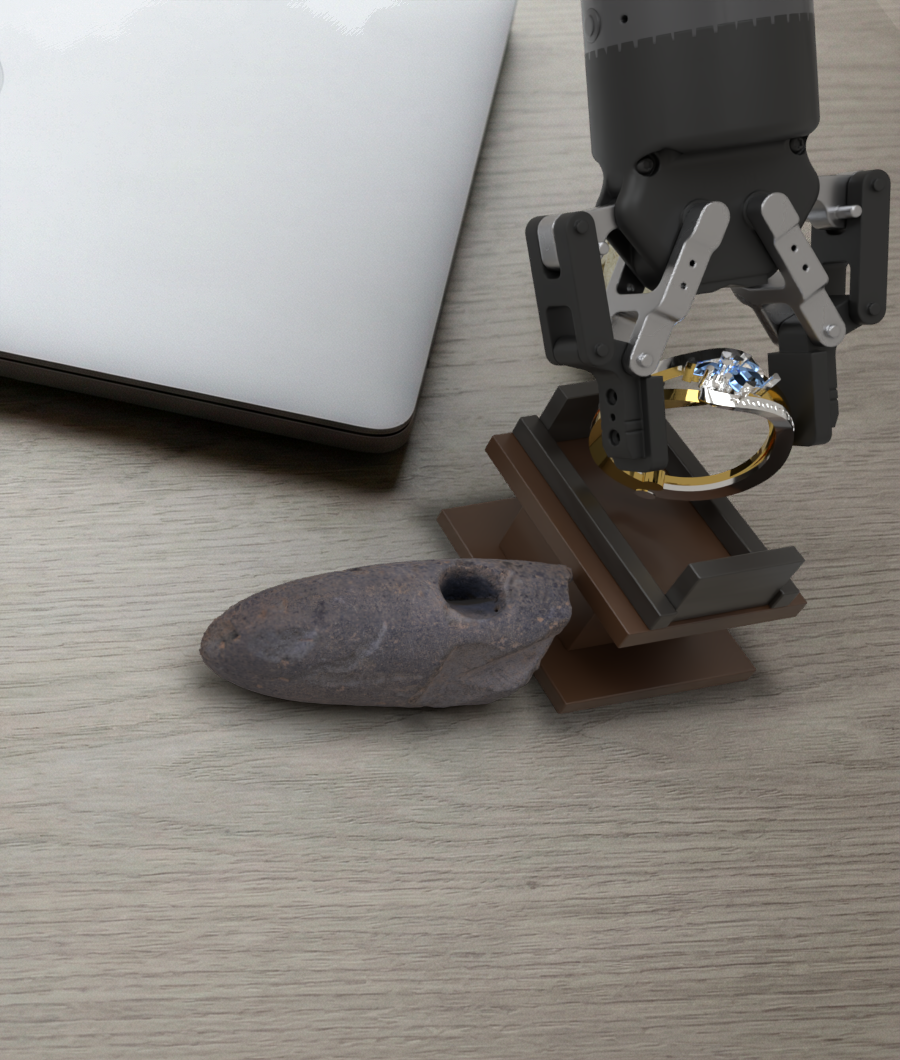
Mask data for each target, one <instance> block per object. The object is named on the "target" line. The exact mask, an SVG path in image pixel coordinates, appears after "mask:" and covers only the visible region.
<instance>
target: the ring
mask: <svg viewBox="0 0 900 1060" xmlns="http://www.w3.org/2000/svg"><path fill="white" fill-rule="evenodd" d="M651 376H663V382H666V381H669V380H672V379H675V378H678V377H680V376H682V378H681V381H683V382H686V383H698V385H697V387H698V389H688V388H664V401H665V410H667V409H677V408H689V407H690V408H692V407H702V406H707V405H709V406H711V407H713V408H716V409H720V410H725V411H733V412H740V413H747V414H752V415H755V416H759V417H760V418H765V420H767V423H768V434H767V436H766V439H765V440H764V442H763V443H762V445H761V447H760V448H759V449H758V450H757V451H756V452H755V453H754V454H753V455H752V456H751V457H750V458H748V459H747V460H745V461H743V462H742V463H741V464H739V465H737V466H735V467H733V468H731V469H728V470H725V471H723V472H720V473H716V474H712V475H711V474H710V476H705V477H691V478H688V477H674V476H668V475H665V472H664V471H663V470H659V471H653V472H647V473H642V472H632V471H622V470H619V469H618V468H617V467H616V466H615V464H614V461H613V458H610V457H608V456H607V454H606V452H605V450H604V448H603V445H602V430H601V422H602V420H601V417H600V403H599V404H598V406H597V408H596V410H595V412H594V416H593V420H592V424H591V429H590V436H589V449H590V453H591V455H592V457H593V459H594V461H595V462H596V464H597V465H598V466H599V468H600V469H601V470H602V471H603V472H605V473H606V474H607V475H608V476H610V477H611V478H612V479H614V480H615V481H617V482H619V483H621V484H622V485H624V486H626V487H629V488H631V489H633V490H635V494H636V495H638V496H639V497H642V498H645V499H655V498H656V497H659V498H665V499H671V500H683V501H699V500H710V499H717V498H722V497H727V498H728V497H730V496H734V495H737V494H741V493H744V492H746V491H748V490H751V489H753V488H755V487H757V486H760V485H761V484H763V483H764V482H766V481H768V480H769V479H770V478H772V477H773V476H774V475H775V474H777V473H778V472H779V470H780V469H781V468H782V467H783V466H784V465H785V464H786V462H787V460H788V459H789V457H790V454H791V452H792V449H793V447H794V446H793V441H794V421H793V418H792V413H791V408H790V405H789V403H788V401H787V399H786V397H785V395H784V394H783V392H782V391H781V390H780V389H779V388H778V386H777V385H776V384H777V383H778V382H779V381H780V380H781V379H780V377H779V375H778V374H777V373H775V374H774V375H772V376H771V377H770V378H769V376H766V375H765V373H764V371H763V369H762V368H761V366H760V365H759V364H758V363H757V361H756V360H755V359H754V357H753V355H752V354H751V353H748V352H745V351H743V350H740V349H737V348H732V347H715V348H707V349H701V350H697V351H692V352H691V351H690V352H687V353H683V354H679V355H678V354H677V355H675V356H671V357H667V358H663V359H661V361H660V362H659V365H658V367H657V369H656V370H655V371H654V373H652V374H651Z"/></svg>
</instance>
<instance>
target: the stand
mask: <svg viewBox="0 0 900 1060" xmlns="http://www.w3.org/2000/svg"><path fill="white" fill-rule="evenodd" d="M665 385H666V381H664V382H663V386H664V387H665ZM598 404H599V389H598V383H597V380H596V379H593V380H586V381H580V382H575V383H568V384H567V383H566V384H561V385H558V386H557V387H556V389H555V391H554V392H553V394H552V395H551V398H550V399H549V401H548V403H547V404H546V405H545V407H544V410H542V412H541V414H540V416H538V415H537V414H530V415H525V416H521V417H519V418H518V420H517V422H516V424H515V425H514V427H513V429H512V431H510V432H504V433H497V434H493V435H491V437H490V439H489V441H488V442H487V444H486V446H485V447H484V452H485V453H486V455H487V456H488V457H489V460H490V461H491V462H492V464H493V465H494V466H495V468H496V469H497V471H498V472H499V474H500V476H501V477H502V478H503V480H504V481H505V483H506V484H507V486H508V487H509V488H510V490H511V492H512V493H513V494H514V497H509V498H501V499H496V500H490V501H485V502H484V501H483V502H477V503H472V504H465V505H460V506H453V507H447V508H442V509H441V510H440V512H439V514H438V515H437V517H436V518H435V519H436V522H437V524H438V525H439V527H440V528H441V530H442V532H443V533H444V535H445V536H446V538H447V539H448V541H449V543H450V544H451V546H452V547H453V549H454V550H455V553H457V555H458V557H459V559H460V558H464V559H471V558H478V559H479V558H481V559H502V560H523V561H532V562H542V563H547V564H555V565H558V564H560V565H566V566H567V567H569V568H571V569H572V573H573V579H572V581H571V582H570V583H569V584H568V588H569V591H568V593H569V601H570V604H571V607H572V614H571V618H570V620H569V622H568V623H567V626H565V627H564V629H563V630H562V631H561V632H560V633H559V634H557V635H556V636H555V637H554V638H553V641H552V643H551V645H550V646H549V648H548V650H547V652H546V653H545V655H544V657H543V658H542V659H541V662H540V666H539V669H538V670H535V671H534V673H533V676H534V677H535V679H536V681H537V682H538V684H539V685H540V687H541V689H542V690H543V692H544V694H545V695H546V697H547V698H548V700H549V702H550V703H551V705H552V706H553V708H554V709H555V711H556V713H557V714H559V715H562V714H569V713H574V712H579V711H585V710H590V709H596V708H600V707H607V706H612V705H617V704H622V703H628V702H634V701H640V700H644V699H645V700H646V699H651V698H655V697H656V698H657V697H660V696H667V695H672V694H677V693H683V692H688V691H695V690H700V689H705V688H711V687H717V686H722V685H726V684H733V683H739V682H743V681H748V680H749V679H750V678H751V677H752V676H754V674H755V673H756V671H757V668H756V666H755V665H754V663H752V661H751V660H750V658H749V657H748V656H747V654H746V653H745V652H744V650H743V649H742V648H741V646H740V645H739V643H738V642H737V640H736V639H735V638H734V637H733V635H732V634H731V632H730V631H729V629H735V628H741V627H745V626H752V625H757V624H762V623H768V622H773V621H779V620H785V619H792V618H796V617H797V616H798V615H799V614H800V613H801V611H802V610H803V609H804V608H805V607H806V606H807V604H808V601H807V600H806V598H805V597H804V596H803V594H802V593H801V591H800V589H799V588H798V586H797V585H796V584H795V583H794V582H793V580H792V579H791V578H792V577H793V576H794V575H795V573H797V571H798V570H799V569H800V568H801V566H802V565H804V563H805V562H806V560H805V558H804V556H803V555H802V554H801V552H800V551H799V550H798V549H797V548H796V546H795V545H789V546H784V547H778V548H777V547H776V548H772V549H768V548H767V547H766V545H765V544H764V543H763V541H762V540H761V539H760V538H759V536H758V535H757V534H756V533H755V531H754V530H753V528H752V527H751V526H750V525H749V524H748V522H747V520H745V518H744V517H743V516H742V515H741V513H740V511H738V509H737V508H736V507H735V505H734V504H733V503H732V502H731V500H730V499H729V498H728V496H727V497H722V498H717V499H710V500H699V501H683V500H671V499H665V498H659V497H656V498H655V499H645V498H642V497H639V496H638V495H636V494H635V490H633V489H631V488H629V487H626V486H624V485H622V484H621V483H619V482H617V481H615V480H614V479H612V478H611V477H610V476H608V475H607V474H606V473H605V472H603V471H602V470H601V469H600V468H599V466H598V465H597V464H596V462H595V461H594V459H593V457H592V455H591V453H590V449H589V436H590V429H591V424H592V420H593V416H594V412H595V410H596V408H597V406H598ZM666 431H667V446H668V464H667V466H666V468H665V469H663V471H664V472H665V475H668V476H674V477H688V478H691V477H705V476H711V474H710V473H709V472H708V471H707V470H706V468H705V467H704V466H703V464H702V463H701V462H700V461H699V459H698V458H697V456H696V455H695V454H694V453H693V451H692V450H691V449H690V447H689V446H688V445H687V444H686V442H685V441H684V439H682V437H681V436H680V435H679V433H678V432H677V431H676V430H675V428H674V427H673V425H672V424H671V423H670V422H669V421H668V419H667V418H666Z"/></svg>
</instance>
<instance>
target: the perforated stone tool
mask: <svg viewBox="0 0 900 1060" xmlns="http://www.w3.org/2000/svg"><path fill="white" fill-rule="evenodd" d="M572 579H573V573H572V569H571V568H569V567H567V566H566V565H560V564H558V565H555V564H547V563H542V562H532V561H523V560H502V559H481V558H479V559H478V558H471V559H464V558H460V557H459V558H457V557H456V558H432V559H431V558H430V559H421V560H420V559H419V560H405V561H394V562H385V563H375V564H369V565H362V566H357V567H350V568H346V569H343V570H334V571H328V572H324V573H320V574H319V573H318V574H315V575H310V576H305V577H301V578H297V579H294V580H289V581H286V582H283V583H280V584H277V585H273V586H272V587H268V588H265V589H263V590H260V591H258V592H254V594H253V593H252V594H251V595H249V596H247V597H246V598H244V599H241V600H239V601H237V602H236V603H235V604H233V605H231V606H229V608H228V609H226V610H224V611H223V613H221V615H218V616H217V617H215V618H213V621H212V622H211V623H209V625H208V626H207V628H206V630H205V631H204V632H203V635H202V637H201V641H200V643H199V644H200V645H199V646H200V648H199V649H198V652H199V653H198V654H199V655H200V656H201V659H202V661H203V663H204V664H205V666H206V667H207V668H209V669H210V670H211V671H212V672H213V673H215V674H216V676H218V677H220V678H221V679H222V680H225V681H228V683H231V684H234V685H235V686H237V687H239V688H242V689H245V690H248V691H251V692H254V693H256V694H260V695H263V696H267V697H272V698H276V699H282V700H287V701H292V702H300V703H309V704H320V705H338V706H339V705H344V706H345V705H346V706H354V707H355V706H357V707H386V708H387V707H388V708H390V707H397V708H422V707H429V708H434V709H435V708H442V709H444V708H450V707H457V706H472V705H473V706H478V705H488V704H492V703H493V702H496V701H498V700H501V699H504V698H506V697H510V696H511V695H513V694H514V693H516V692H517V691H518V690H519V689H521V688H523V687H526V685H527V684H528V683H529V682H530V681H531V679H532V677H533V676H534V674H533V673H534V671H535V670H538V669H539V666H540V662H541V659H542V658H543V657H544V655H545V653H546V652H547V650H548V648H549V646H550V645H551V643H552V641H553V638H554V637H555V636H556V635H557V634H559V633H560V632H561V631H562V630H563V629H564V627H565V626H567V623H568V622H569V620H570V618H571V614H572V607H571V604H570V601H569V593H568V591H569V588H568V584H569V583H570V582H571V581H572Z"/></svg>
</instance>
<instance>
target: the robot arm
mask: <svg viewBox="0 0 900 1060" xmlns="http://www.w3.org/2000/svg"><path fill="white" fill-rule="evenodd" d="M814 3H815V1H814V0H580V12H581V14H580V15H581V25H582V38H583V39H582V40H583V50H584V52H583V53H584V66H585V68H584V69H585V82H586V83H585V84H586V95H587V109H588V110H587V111H588V123H589V138H590V152H591V156H592V158H593V159H594V161H595V162H596V163H598V165H599V167H600V169H601V172H602V177H603V178H602V184H601V189H600V193H599V196H598V198H597V200H596V202H595V205H594V207H591V208H586V209H583V210H578V211H570V212H562V213H561V212H559V213H553V214H545V215H538V216H534V217H532V218H531V219H530V220H529V221H528V222H527V223H526V225H525V230H524V237H525V242H526V247H527V253H528V261H529V265H530V271H531V276H532V277H531V278H532V283H533V289H534V294H535V302H536V307H537V313H538V318H539V319H538V320H539V324H540V331H541V336H542V343H543V349H544V354H545V357H546V360H547V362H549V363H550V364H551V365H554V366H559V367H562V366H563V367H569V368H574V369H577V370H582V371H586V372H588V373H590V374H591V375H592V376H593V377H594V378H595V380H597V383H598V389H599V403H600V417H601V420H602V422H601V430H602V445H603V448H604V450H605V452H606V454H607V456H608V457H610V458H613V461H614V464H615V466H616V467H617V468H618V469H619V470H622V471H632V472H642V473H647V472H653V471H659V470H663V469H665V468H666V466H667V464H668V446H667V431H666V419H667V418H666V417H667V415H666V409H665V401H664V389H665V388H664V387H665V385H664V386H663V376H651V374H652V373H654V371H655V370H656V369H657V367H658V365H659V362H660V360H662V358H661V357H662V356H663V354H664V352H665V350H666V346H667V344H668V342H669V340H670V337H671V334H672V332H673V329H674V327H675V326H676V325H678V324H679V323H680V322H682V321H683V320H684V319H685V318H686V317H687V316H688V314H689V312H690V310H691V308H692V305H693V302H694V300H695V298H696V296H698V295H704V294H711V293H715V292H717V291H720V290H722V289H730V290H731V292H732V294H733V295H734V296H735V298H736V300H738V301H739V302H740V303H741V304H743V305H745V306H747V307H749V308H750V309H752V311H753V313H754V314H755V316H756V317H757V319H758V321H759V322H760V324H761V326H762V328H763V329H764V332H765V333H766V335H767V336H768V337H769V340H770V341H771V343H772V344H773V345H774V346H776V347H778V351H773V352H772V351H771V352H767V355H766V356H767V370H768V372H767V373H768V378H770V377H771V376H772V375H774V374H775V373H777V374H778V375H779V377H780V379H781V380H780V381H779V382H778V383H777V384H776V385H777V386H778V388H779V389H780V390H781V391H782V392H783V394H784V395H785V397H786V399H787V401H788V403H789V405H790V408H791V413H792V418H793V421H794V441H793V446H792V447H804V448H805V447H807V448H809V447H815V446H820V445H826V444H828V443H829V442H830V441H831V439H832V437H833V428H836V426H837V422H838V418H839V415H840V410H839V408H840V407H839V400H838V399H839V392H838V391H839V390H838V373H837V372H838V371H837V357H836V356H837V355H836V352H837V347H838V346H839V345H840V344H841V343H842V342H843V340H845V336H846V335H848V334H850V333H852V332H853V331H855V330H857V329H859V328H860V327H862V326H872V325H873V326H874V325H877V324H879V323H880V322H881V321H882V320H883V319H884V318H885V315H886V312H887V302H888V301H887V300H888V299H887V297H888V275H889V274H888V273H889V270H888V269H889V244H890V243H889V242H890V217H891V215H890V214H891V190H892V189H891V187H892V181H891V178H890V176H889V174H888V172H886V171H885V170H883V169H879V168H874V169H867V170H863V169H862V170H860V169H859V170H853V171H852V170H851V171H845V172H839V173H836V174H827V175H818V173H817V171H816V169H815V168H814V166H813V164H812V163H811V161H810V158H809V155H808V152H807V142H808V138H809V137H810V135H811V134H812V133H814V132H815V130H816V129H817V128H818V126H819V124H820V123H821V112H820V111H821V108H820V91H819V75H818V72H819V71H818V54H817V39H816V36H817V35H816V19H815V4H814ZM805 223H810V225H811V227H810V243H809V241H808V238H806V236H805V234H804V232H803V230H802V228H803V226H804V225H805ZM605 240H607V241H608V242H609V244H610V245H611V246H612V247H613V248H614V250H615V251H616V252H617V253H618V255H619V258H618V261H617V263H616V266H615V268H614V271H613V273H612V276H611V279H610V281H609V284H608V286H607V289H606V288H605V281H604V275H603V269H602V263H601V259H602V258H603V256H604V255H605V254H607V253H608V251H609V245H608V244H607V243H606V242H605ZM848 265H849V267H850V268H849V272H850V273H849V294H846V291H847V290H846V286H847V267H848ZM645 287H646V288H647V289H649V290H650V291H652V292H650V293H643V292H644V289H645Z"/></svg>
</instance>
